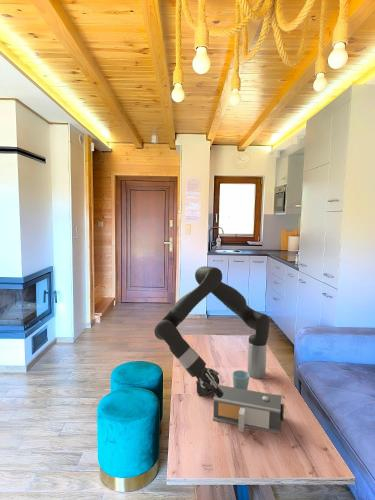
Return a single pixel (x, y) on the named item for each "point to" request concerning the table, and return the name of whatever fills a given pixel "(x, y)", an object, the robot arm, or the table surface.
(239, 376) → the cup
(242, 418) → the side door
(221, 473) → the table surface
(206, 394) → the camera
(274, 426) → the grey box
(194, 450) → the table surface
